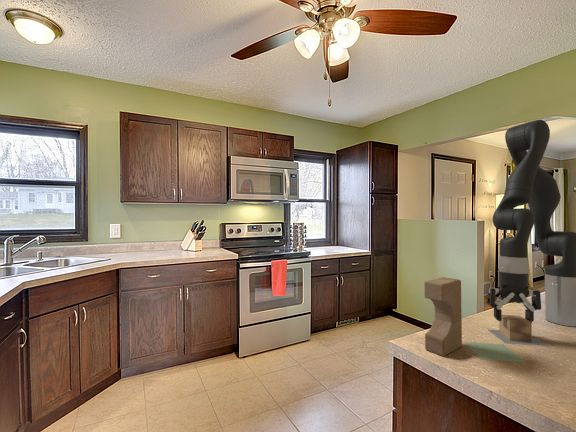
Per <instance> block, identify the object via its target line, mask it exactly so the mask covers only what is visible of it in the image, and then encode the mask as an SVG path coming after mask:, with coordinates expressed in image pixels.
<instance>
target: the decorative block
mask: <svg viewBox="0 0 576 432" xmlns="http://www.w3.org/2000/svg"><path fill="white" fill-rule="evenodd" d="M423 287H424V298H425V299H428V300H430V301H431V302H432V304H433V306H434V319H433V322H432V325H431V327H430V328H429V330H428V331H427V332H426V333H424V349H425V350H426V351H427V352H430V353H433V354H436V355H437V356H440V357H445V356H446V355H448V354H450V353H452V352H454V351H456V350H458V349H459V348H461V347H462V346H463V333H462V332H463V331H462V328H463V327H462V325H463V324H462V322H463V321H462V280H461V279H457V278H450V277H447V276H445V277H444V276H442V277H438V278H433V279H431V280H425V281H424V286H423Z"/></svg>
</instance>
